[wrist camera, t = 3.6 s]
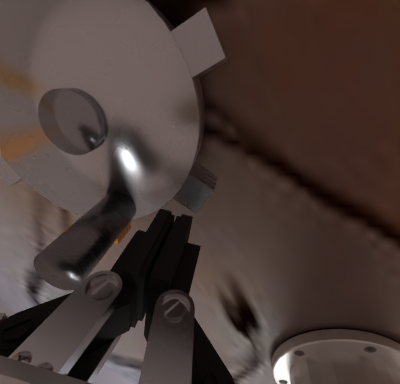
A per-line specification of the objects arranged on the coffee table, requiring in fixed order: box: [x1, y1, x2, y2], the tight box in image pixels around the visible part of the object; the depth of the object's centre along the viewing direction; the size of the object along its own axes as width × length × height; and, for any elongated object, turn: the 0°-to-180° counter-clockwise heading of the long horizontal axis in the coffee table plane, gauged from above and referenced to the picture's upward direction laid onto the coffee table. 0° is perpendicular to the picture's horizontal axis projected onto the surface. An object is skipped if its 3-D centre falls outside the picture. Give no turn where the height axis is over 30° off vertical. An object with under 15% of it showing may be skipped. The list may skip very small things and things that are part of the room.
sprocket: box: [0, 0, 228, 290], centre depth 10 cm, size 15×14×7 cm
